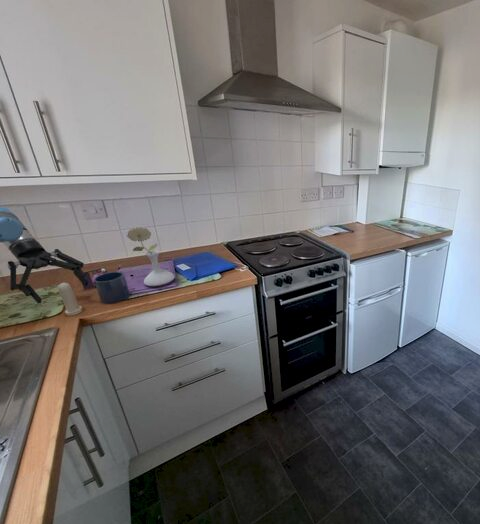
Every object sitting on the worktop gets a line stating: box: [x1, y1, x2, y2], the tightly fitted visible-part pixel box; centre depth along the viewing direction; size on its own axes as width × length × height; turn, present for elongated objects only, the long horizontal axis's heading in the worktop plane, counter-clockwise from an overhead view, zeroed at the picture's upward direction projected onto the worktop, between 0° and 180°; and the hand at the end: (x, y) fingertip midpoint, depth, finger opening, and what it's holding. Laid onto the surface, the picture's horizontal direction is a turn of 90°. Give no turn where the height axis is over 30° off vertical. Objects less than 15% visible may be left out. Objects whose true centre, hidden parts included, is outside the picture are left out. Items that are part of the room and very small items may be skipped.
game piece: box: [57, 282, 83, 317], centre depth 105 cm, size 5×5×12 cm
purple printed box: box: [80, 267, 108, 290], centre depth 126 cm, size 7×5×9 cm
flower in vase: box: [126, 226, 175, 287], centre depth 124 cm, size 13×11×25 cm
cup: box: [93, 271, 131, 304], centre depth 115 cm, size 9×9×9 cm
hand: (64, 292), depth 105 cm, fingers open, 13 cm apart
